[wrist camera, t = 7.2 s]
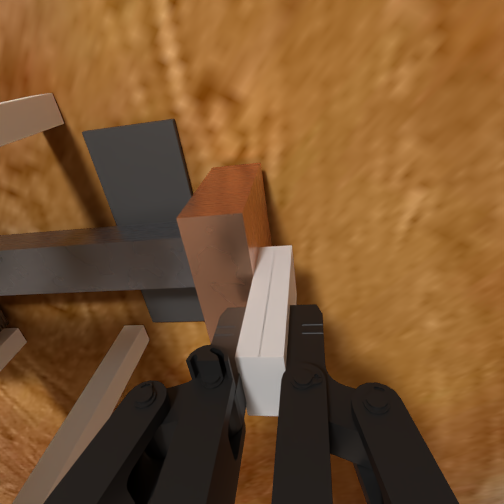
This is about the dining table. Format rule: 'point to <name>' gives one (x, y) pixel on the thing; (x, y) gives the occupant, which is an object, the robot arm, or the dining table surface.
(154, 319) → the white mini stool
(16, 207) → the dining table surface
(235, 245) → the long-handled tray
